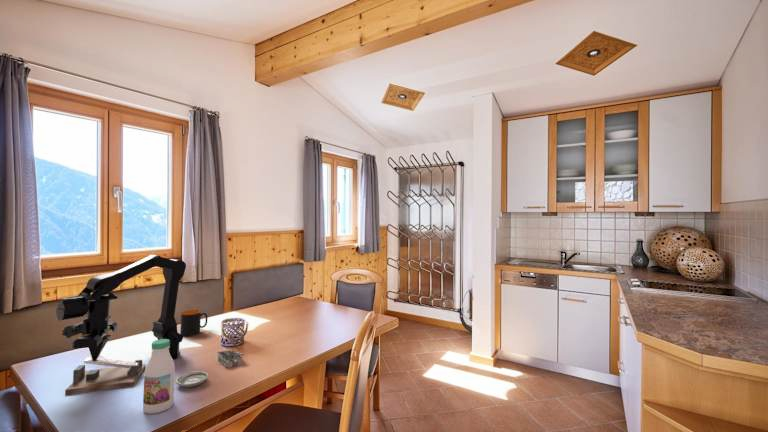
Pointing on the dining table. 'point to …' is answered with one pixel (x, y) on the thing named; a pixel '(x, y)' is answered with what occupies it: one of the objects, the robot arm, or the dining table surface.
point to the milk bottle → (159, 379)
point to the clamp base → (104, 378)
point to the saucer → (191, 378)
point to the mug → (191, 323)
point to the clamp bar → (110, 362)
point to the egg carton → (229, 358)
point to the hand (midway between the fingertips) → (95, 359)
